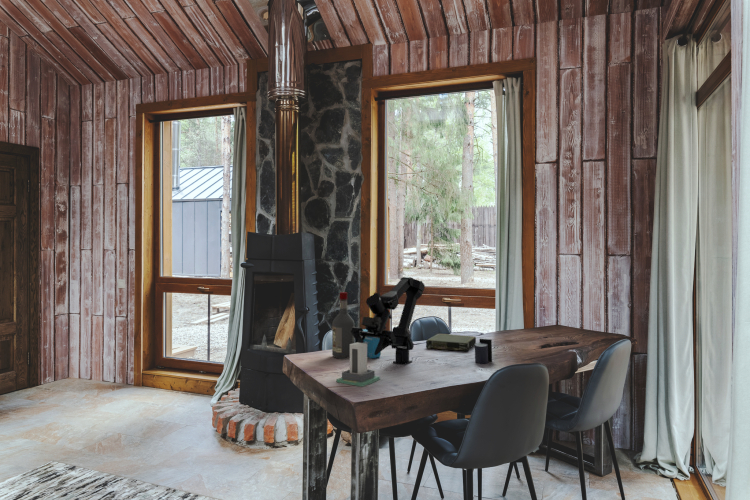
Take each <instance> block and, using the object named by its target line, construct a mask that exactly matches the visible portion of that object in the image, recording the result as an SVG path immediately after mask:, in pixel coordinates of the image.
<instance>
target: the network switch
mask: <svg viewBox="0 0 750 500" xmlns="http://www.w3.org/2000/svg"><path fill="white" fill-rule="evenodd" d="M475 343H477V338H476V336H473V335H460V334H448V333H436V334H435V335H433V336H431V337H430V338H428V339H427V340H426V341H425V345H426V346H425V347H426V349H427V350H429V349H434V350H436V349H437V350H444V351H446V350H448V351H451V350H452V351H460V352H463V351H464V352H465V353H467V352H468V351H469V350H470V349H471V348H473V347H475V346H474V344H475Z"/></svg>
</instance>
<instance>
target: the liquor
mask: <svg viewBox="0 0 750 500" xmlns="http://www.w3.org/2000/svg"><path fill="white" fill-rule="evenodd" d="M348 312H349V311H348V292H347V291H344V292H342V291H341V292H339V312H338V314H337V315H336V316H335V317H334V319H332V323H331V326H332V327H331V328H332V330H331V333H332V337H331V338H332V345H331V346H332V348H331V351H332V356H333V358H335V359H339V360H344V359H345V360H346V359H350V344H353V343H355V338H354V336H353V335H352V333H351V330H352V328H353V327H355V320H354V318H352V316H351V315H350V314H349V313H348Z"/></svg>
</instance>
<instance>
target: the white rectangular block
mask: <svg viewBox="0 0 750 500" xmlns="http://www.w3.org/2000/svg"><path fill="white" fill-rule="evenodd" d="M367 369H368V357H367V344H366V343H358V342H356V343H353V344H350V358H349V370H350V373H352V374H358V375H362V374H365V373H367Z"/></svg>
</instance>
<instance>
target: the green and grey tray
mask: <svg viewBox="0 0 750 500" xmlns="http://www.w3.org/2000/svg"><path fill="white" fill-rule="evenodd" d="M375 372H376V371H375V370H373V369H368V368H367V373H365V374H362V375H358V374H352V373H350V369H348V370H345V371H343V372H341V377H339V378H336V383H341V384H345V385H351V386H356V387H357V386H358V387H365V386H368V385H370V384H372V383H375V382H377V381H379V380H381V376H378V375H376V373H375Z"/></svg>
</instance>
